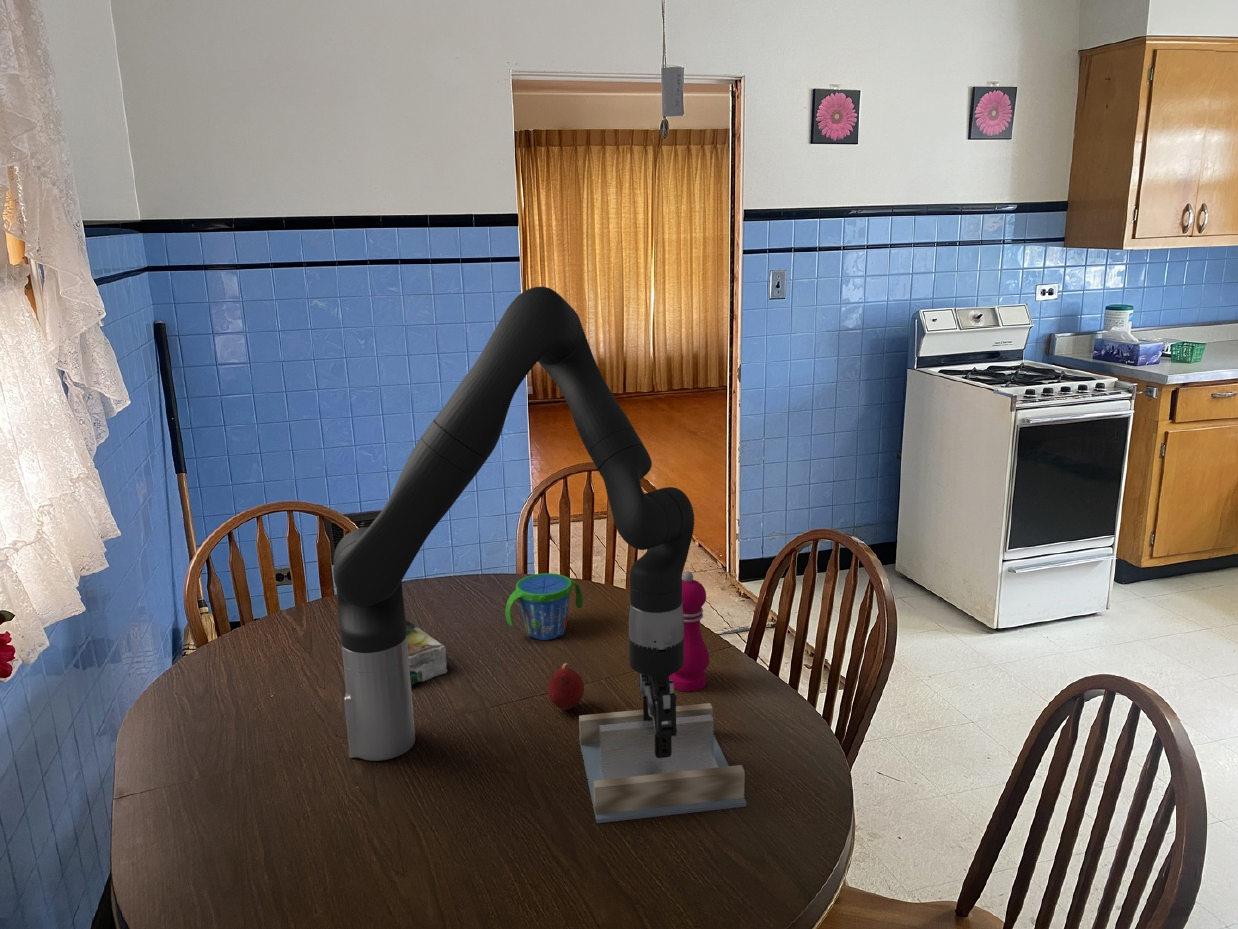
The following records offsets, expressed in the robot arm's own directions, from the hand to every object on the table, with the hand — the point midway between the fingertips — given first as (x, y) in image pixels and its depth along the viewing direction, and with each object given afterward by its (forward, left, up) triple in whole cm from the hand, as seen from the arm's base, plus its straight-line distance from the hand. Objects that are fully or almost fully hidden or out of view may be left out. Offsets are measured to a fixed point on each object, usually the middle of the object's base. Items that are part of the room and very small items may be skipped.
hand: (656, 739), depth 126 cm
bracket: (0, -2, -4) cm, 5 cm away
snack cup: (-12, +48, -5) cm, 50 cm away
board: (0, 0, -5) cm, 5 cm away
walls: (0, 0, -5) cm, 5 cm away
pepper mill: (+10, +24, -5) cm, 26 cm away
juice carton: (-39, +41, -6) cm, 57 cm away
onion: (-11, +19, -5) cm, 22 cm away
